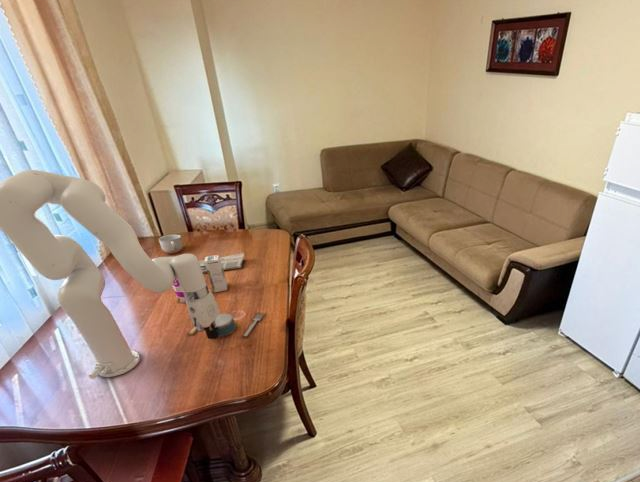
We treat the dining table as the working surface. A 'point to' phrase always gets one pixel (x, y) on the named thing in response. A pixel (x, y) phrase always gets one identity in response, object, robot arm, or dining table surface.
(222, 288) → the syrup box
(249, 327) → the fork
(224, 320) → the tin
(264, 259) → the dining table surface
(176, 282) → the supplement can
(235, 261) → the newspaper
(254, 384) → the dining table surface
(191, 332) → the spoon
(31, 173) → the robot arm
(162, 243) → the teacup
